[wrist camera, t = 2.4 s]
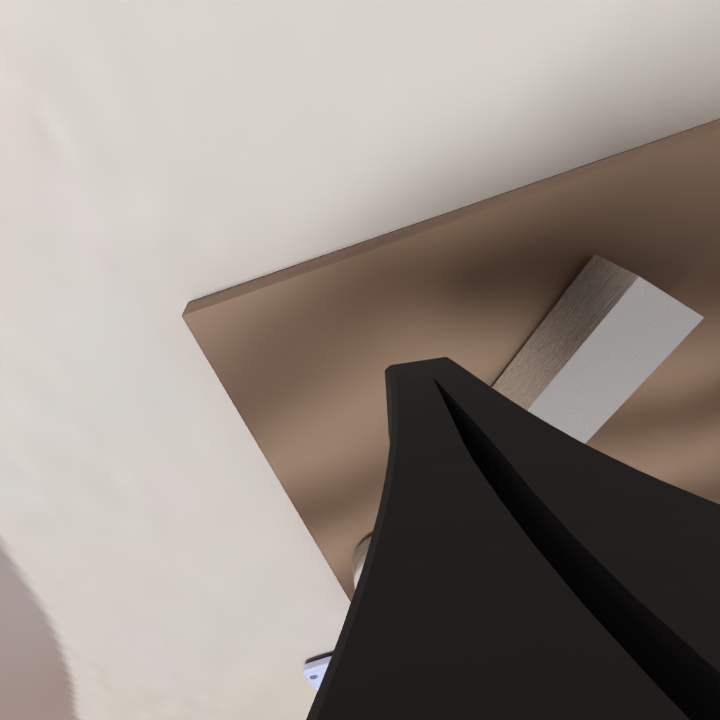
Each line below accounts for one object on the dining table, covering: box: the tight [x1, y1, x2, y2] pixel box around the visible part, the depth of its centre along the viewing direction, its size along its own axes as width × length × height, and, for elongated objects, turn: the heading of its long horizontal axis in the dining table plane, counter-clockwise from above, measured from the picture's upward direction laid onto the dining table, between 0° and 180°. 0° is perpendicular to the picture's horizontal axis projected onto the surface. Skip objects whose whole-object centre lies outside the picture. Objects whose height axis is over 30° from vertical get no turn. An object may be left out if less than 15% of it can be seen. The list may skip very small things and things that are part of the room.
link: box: [351, 254, 704, 589], centre depth 16 cm, size 17×4×2 cm, turn 152°
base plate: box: [182, 119, 720, 602], centre depth 18 cm, size 20×20×1 cm
